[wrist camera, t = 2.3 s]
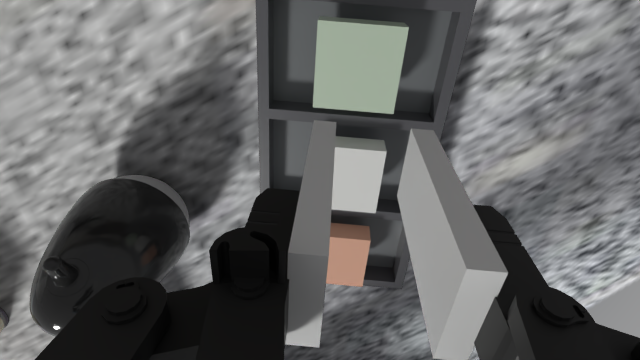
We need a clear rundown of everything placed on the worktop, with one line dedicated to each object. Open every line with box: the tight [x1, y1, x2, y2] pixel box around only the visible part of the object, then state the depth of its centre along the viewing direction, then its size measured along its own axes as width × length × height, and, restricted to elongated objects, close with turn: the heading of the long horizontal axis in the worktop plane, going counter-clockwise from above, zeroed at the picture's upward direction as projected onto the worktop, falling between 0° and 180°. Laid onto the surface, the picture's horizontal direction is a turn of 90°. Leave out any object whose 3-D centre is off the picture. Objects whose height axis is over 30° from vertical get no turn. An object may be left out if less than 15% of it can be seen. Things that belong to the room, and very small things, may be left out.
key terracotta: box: [326, 223, 371, 287], centre depth 33 cm, size 6×6×2 cm
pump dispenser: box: [30, 175, 190, 336], centre depth 31 cm, size 10×10×15 cm
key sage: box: [313, 16, 409, 114], centre depth 25 cm, size 6×6×2 cm
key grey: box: [332, 136, 387, 213], centre depth 29 cm, size 6×6×2 cm
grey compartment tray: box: [256, 0, 477, 289], centre depth 31 cm, size 26×14×4 cm, turn 176°
